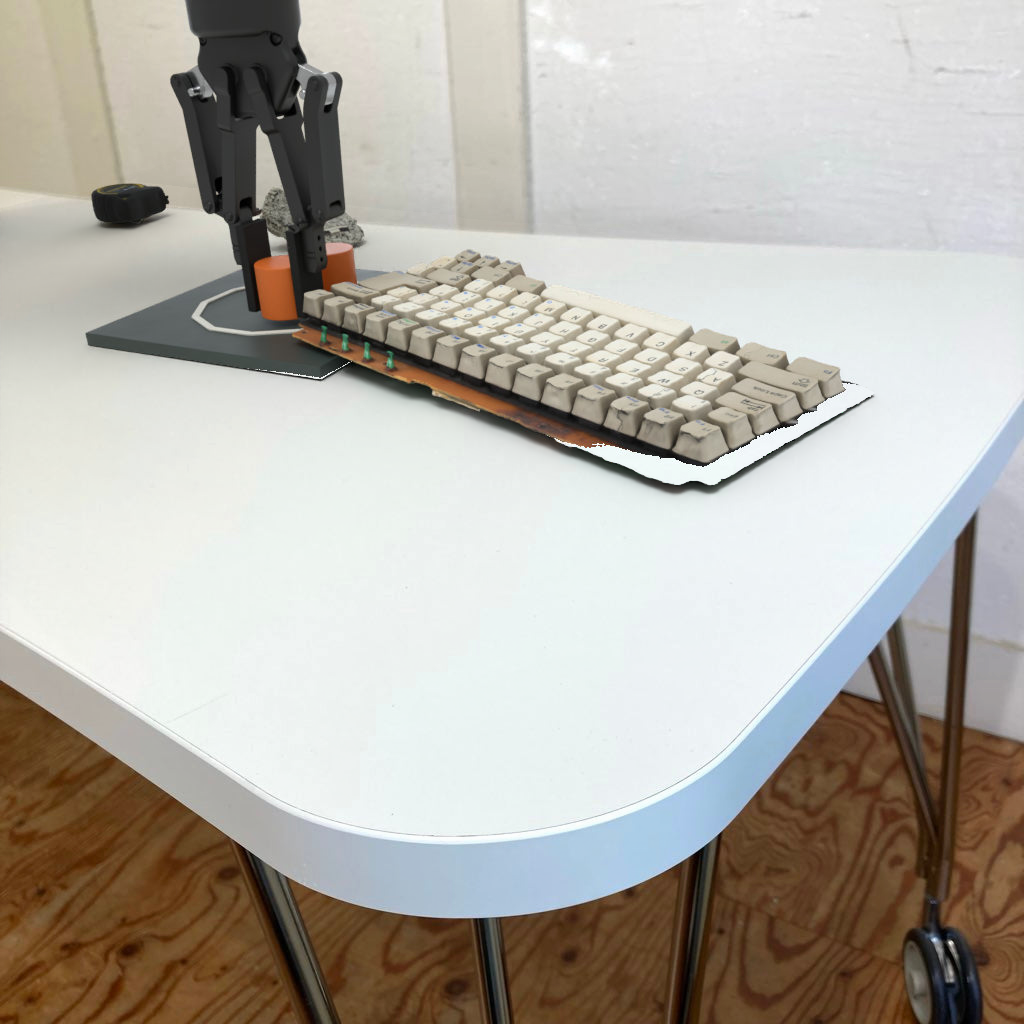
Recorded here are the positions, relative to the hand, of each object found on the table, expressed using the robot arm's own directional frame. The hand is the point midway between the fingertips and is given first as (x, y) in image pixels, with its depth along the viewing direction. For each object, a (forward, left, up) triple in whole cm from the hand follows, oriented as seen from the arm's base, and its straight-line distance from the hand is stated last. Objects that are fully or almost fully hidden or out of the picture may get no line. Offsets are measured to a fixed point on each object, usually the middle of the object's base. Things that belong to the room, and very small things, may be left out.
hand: (287, 309), depth 82 cm
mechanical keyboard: (+23, -1, -1) cm, 23 cm away
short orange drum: (0, +6, -1) cm, 6 cm away
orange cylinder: (0, 0, 0) cm, 0 cm away
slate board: (-2, +3, -2) cm, 4 cm away
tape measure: (-41, +26, -2) cm, 49 cm away
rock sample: (-14, +24, -2) cm, 28 cm away
